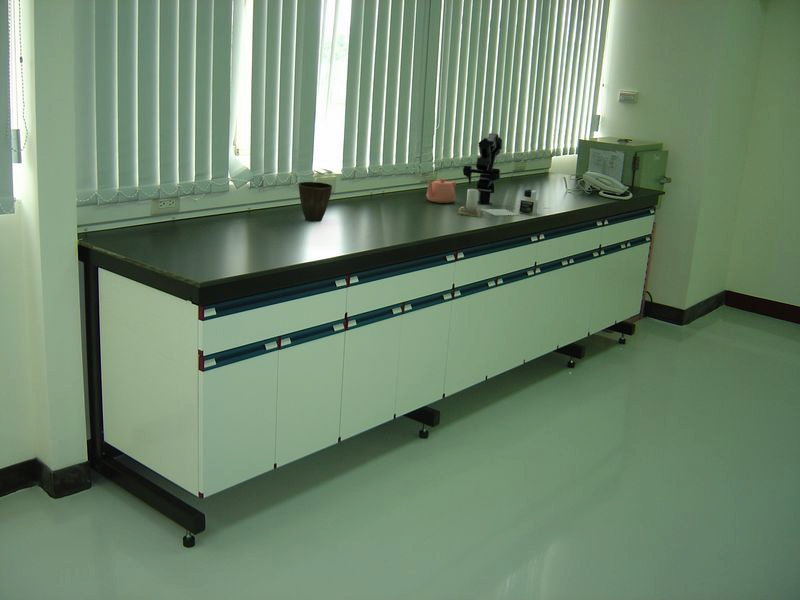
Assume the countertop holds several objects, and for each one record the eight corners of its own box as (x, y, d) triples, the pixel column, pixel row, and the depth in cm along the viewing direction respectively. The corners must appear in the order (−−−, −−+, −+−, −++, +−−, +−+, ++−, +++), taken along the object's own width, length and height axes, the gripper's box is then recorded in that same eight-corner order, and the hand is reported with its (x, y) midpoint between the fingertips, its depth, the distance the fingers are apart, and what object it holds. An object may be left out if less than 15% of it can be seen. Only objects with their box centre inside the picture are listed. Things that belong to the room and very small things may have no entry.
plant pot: (328, 217, 391) (330, 182, 386) (331, 224, 377) (333, 188, 372) (296, 215, 388) (297, 181, 384) (298, 222, 374) (299, 187, 370)
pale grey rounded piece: (466, 212, 428) (469, 188, 424) (477, 213, 427) (479, 189, 423) (463, 214, 421) (465, 190, 417) (474, 216, 419) (476, 191, 416)
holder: (461, 211, 428) (461, 206, 428) (482, 214, 426) (483, 209, 425) (457, 214, 421) (458, 209, 420) (479, 216, 418) (479, 211, 418)
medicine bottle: (519, 213, 436) (521, 189, 432) (523, 211, 442) (526, 188, 438) (532, 215, 433) (535, 191, 429) (536, 213, 439) (539, 190, 435)
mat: (481, 210, 436) (481, 209, 435) (505, 210, 441) (505, 209, 441) (494, 215, 423) (494, 215, 423) (518, 215, 429) (518, 214, 429)
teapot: (434, 205, 438) (436, 182, 435) (414, 200, 449) (416, 177, 445) (464, 202, 453) (466, 179, 449) (443, 197, 463) (445, 175, 460)
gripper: (465, 149, 430) (459, 174, 423) (501, 153, 425) (496, 178, 419) (466, 162, 439) (460, 187, 433) (502, 166, 435) (497, 191, 429)
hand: (478, 185), depth 428 cm, fingers open, 9 cm apart
